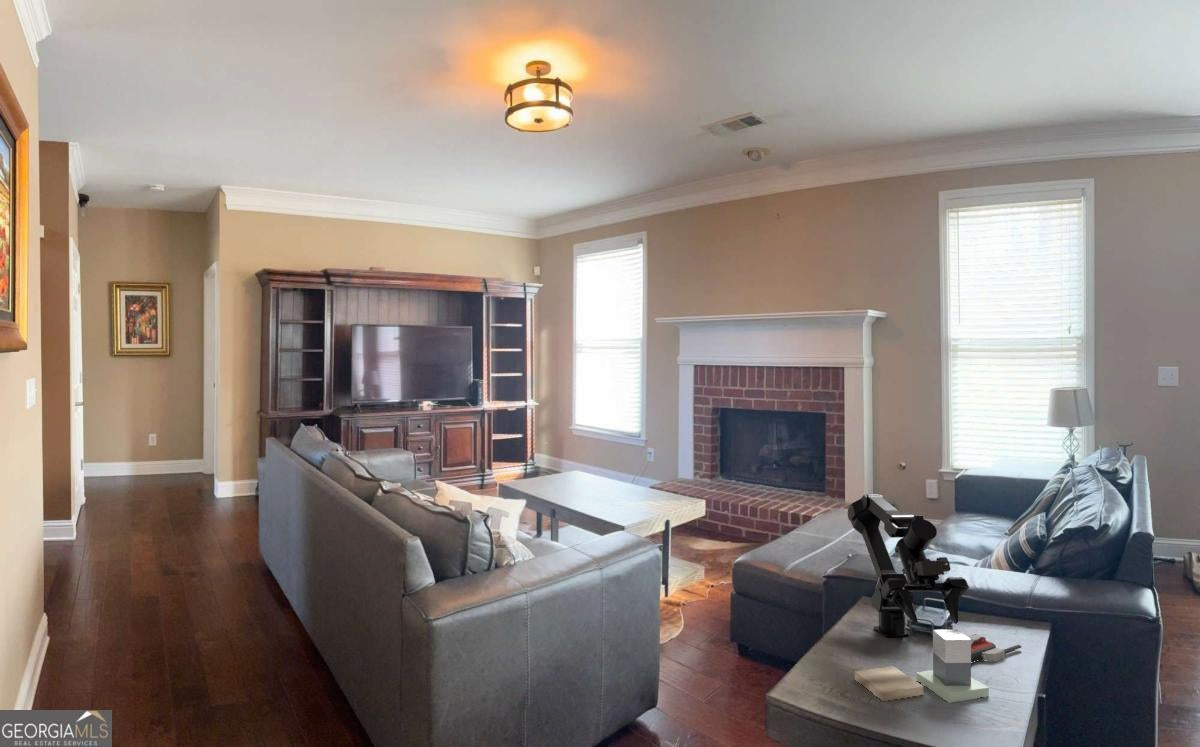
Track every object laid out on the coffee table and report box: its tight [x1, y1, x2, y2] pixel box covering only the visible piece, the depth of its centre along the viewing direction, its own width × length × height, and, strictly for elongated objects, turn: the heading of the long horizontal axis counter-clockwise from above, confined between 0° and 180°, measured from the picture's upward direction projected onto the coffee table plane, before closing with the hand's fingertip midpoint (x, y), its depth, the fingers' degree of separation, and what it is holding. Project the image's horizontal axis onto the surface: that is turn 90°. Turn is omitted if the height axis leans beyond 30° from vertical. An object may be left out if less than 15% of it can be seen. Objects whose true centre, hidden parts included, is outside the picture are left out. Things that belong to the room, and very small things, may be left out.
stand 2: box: [915, 669, 990, 704], centre depth 150 cm, size 10×10×2 cm
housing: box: [932, 629, 972, 686], centre depth 150 cm, size 6×6×10 cm
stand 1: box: [854, 665, 924, 702], centre depth 151 cm, size 10×10×2 cm
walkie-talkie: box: [967, 633, 1022, 662], centre depth 167 cm, size 9×4×20 cm
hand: (936, 623), depth 156 cm, fingers open, 9 cm apart
